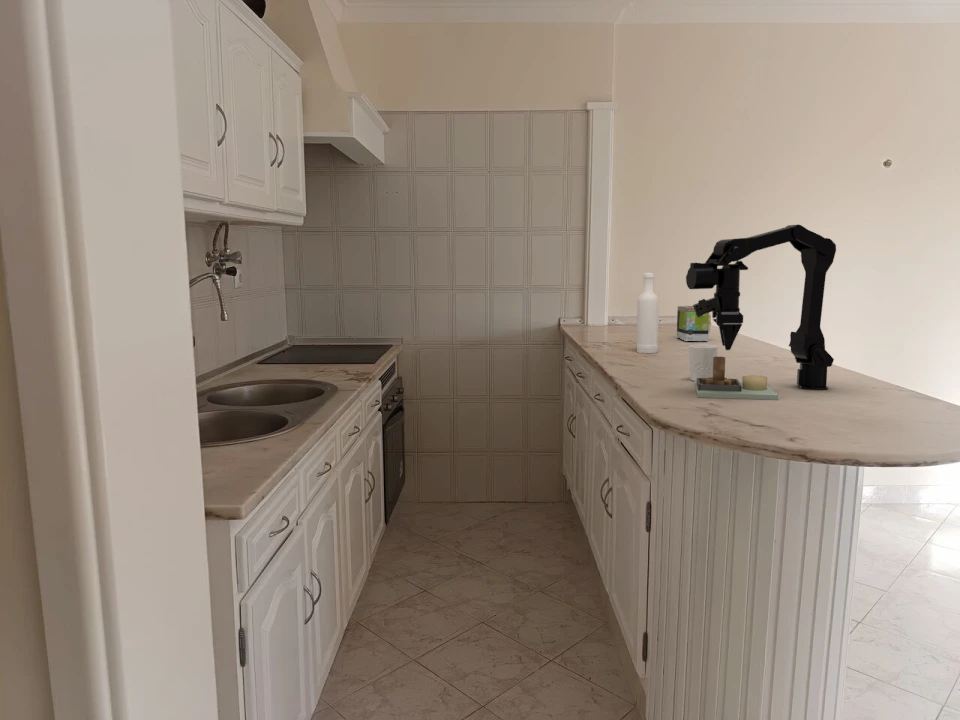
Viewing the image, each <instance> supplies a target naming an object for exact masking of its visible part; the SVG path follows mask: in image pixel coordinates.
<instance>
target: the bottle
mask: <svg viewBox="0 0 960 720" xmlns="http://www.w3.org/2000/svg"><path fill="white" fill-rule="evenodd" d="M654 279H655V276H654V273H653V272H644V273H643V291H642V292H641V294H640V295H639V296H638V299H637V308H636V309H637V312H636V313H637V314H636V324H637V325H636V352H637V353H638V352H639V354H644V353H652V354H657V353H658V351H659V310H660V309H659V306H660V305H659V302H660V300H659V297H658V295H657V294H656V293H655V292H654Z"/></svg>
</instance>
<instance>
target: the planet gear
mask: <svg viewBox="0 0 960 720" xmlns="http://www.w3.org/2000/svg"><path fill="white" fill-rule="evenodd" d="M725 373H726V356H717V357H713V378H712V377H709V378H707V379H703V381H702V384H707V385H735V380H730V379H731V378H727V377H726V376H725V375H726V374H725Z"/></svg>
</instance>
